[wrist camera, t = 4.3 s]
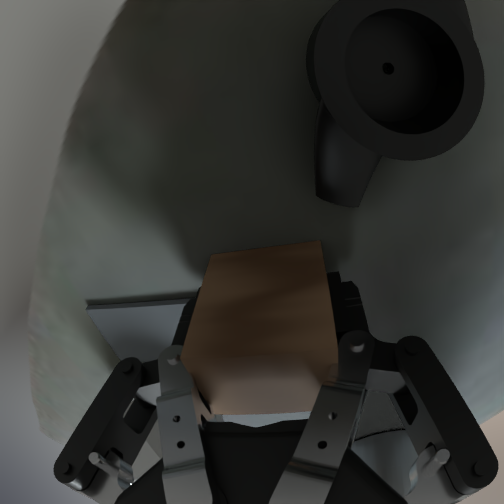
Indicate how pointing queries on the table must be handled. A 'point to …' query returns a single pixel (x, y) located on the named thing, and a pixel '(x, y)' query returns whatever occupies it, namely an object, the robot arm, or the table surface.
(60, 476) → the robot arm
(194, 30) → the table surface
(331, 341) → the brown rectangular block
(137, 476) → the die
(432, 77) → the black round bracket
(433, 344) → the table surface
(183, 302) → the pad
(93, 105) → the table surface
